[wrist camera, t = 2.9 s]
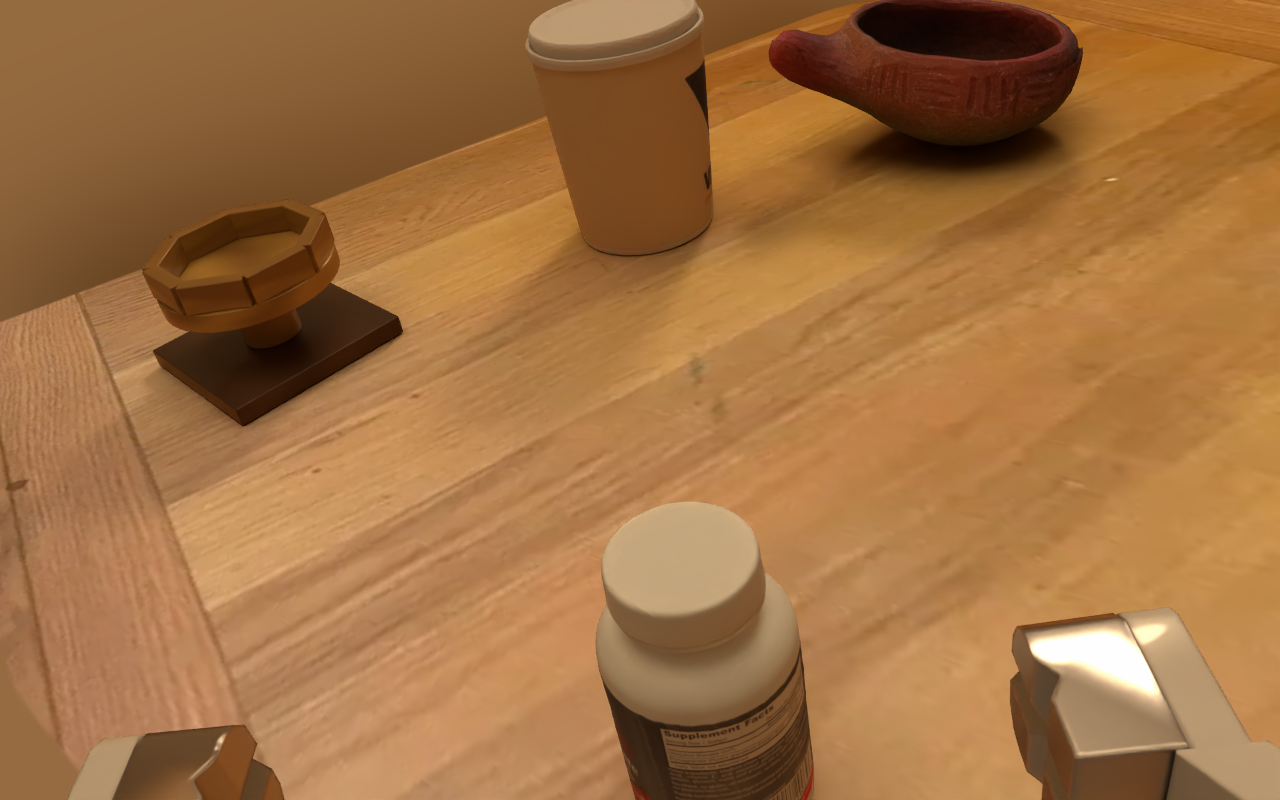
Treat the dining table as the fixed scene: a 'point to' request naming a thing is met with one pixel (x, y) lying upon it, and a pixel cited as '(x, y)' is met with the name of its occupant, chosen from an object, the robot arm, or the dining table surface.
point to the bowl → (940, 67)
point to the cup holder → (259, 306)
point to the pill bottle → (702, 660)
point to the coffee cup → (628, 118)
